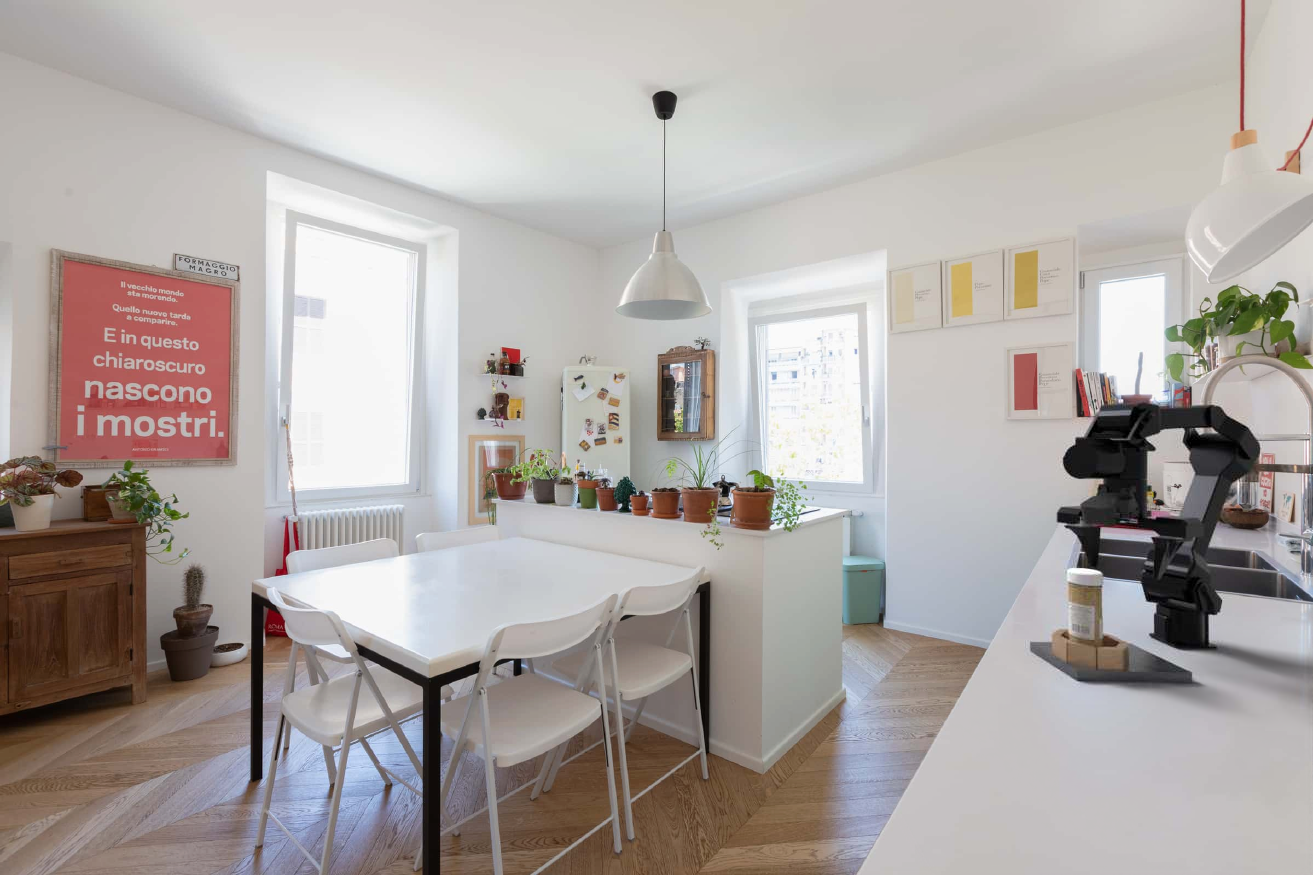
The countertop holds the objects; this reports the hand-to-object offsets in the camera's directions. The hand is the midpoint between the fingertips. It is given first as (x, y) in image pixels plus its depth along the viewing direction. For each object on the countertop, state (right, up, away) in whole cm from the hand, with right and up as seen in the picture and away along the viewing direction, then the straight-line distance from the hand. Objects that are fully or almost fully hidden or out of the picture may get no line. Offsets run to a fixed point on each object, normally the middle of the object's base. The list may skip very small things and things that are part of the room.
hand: (1124, 573), depth 97 cm
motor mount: (-7, -13, -5) cm, 16 cm away
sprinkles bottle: (-10, -12, -6) cm, 17 cm away
